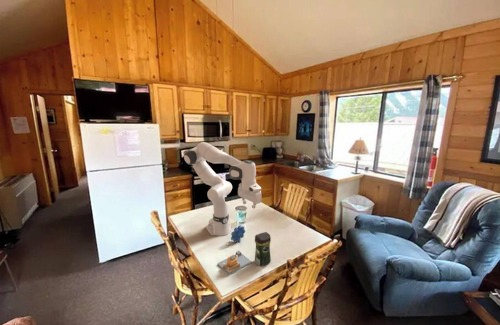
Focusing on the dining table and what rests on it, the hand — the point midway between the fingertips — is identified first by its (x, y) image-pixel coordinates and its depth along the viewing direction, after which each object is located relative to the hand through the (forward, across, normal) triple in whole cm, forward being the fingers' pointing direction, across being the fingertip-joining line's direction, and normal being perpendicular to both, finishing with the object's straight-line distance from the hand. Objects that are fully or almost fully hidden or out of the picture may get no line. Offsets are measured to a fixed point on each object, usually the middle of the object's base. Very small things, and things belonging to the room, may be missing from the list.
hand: (249, 205), depth 138 cm
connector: (+30, +8, -20) cm, 37 cm away
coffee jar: (+31, +16, -2) cm, 35 cm away
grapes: (+31, -13, 0) cm, 34 cm away
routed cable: (+30, +4, -15) cm, 34 cm away
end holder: (+30, +9, -21) cm, 37 cm away
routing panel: (+31, +6, -16) cm, 36 cm away
